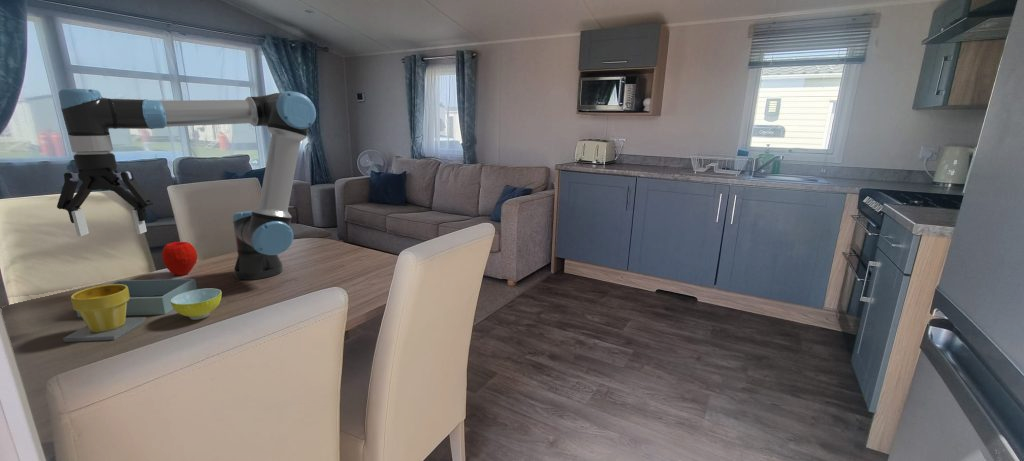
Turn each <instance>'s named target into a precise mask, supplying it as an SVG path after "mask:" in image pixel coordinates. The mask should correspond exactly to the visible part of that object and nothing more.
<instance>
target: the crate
mask: <svg viewBox="0 0 1024 461" xmlns="http://www.w3.org/2000/svg"><path fill="white" fill-rule="evenodd" d="M196 281H197V280H196V278H178V279H177V278H173V279H172V278H171V279H168V278H167V279H166V278H165V279H135V280H134V279H133V280H132V279H129V280H126V279H125V280H115V281H114V282H111V283H110V284H123V285H126V286H127V287H128V290H129V296H130V299H129V300H128V301H127V307H126V317H127V316H153V315H166V314H168V313H170V312H172V310H175V309H174V308H173V307H172V305H171V299H172V298H173V297H175V296H177V295H179V294H182V293H185V292H188V291H192V290H198V288H197V282H196ZM154 295H163V296H154ZM76 315H77V317H78V318H82V316H81V315H80V313H79V311H76Z"/></svg>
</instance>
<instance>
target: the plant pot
mask: <svg viewBox="0 0 1024 461" xmlns="http://www.w3.org/2000/svg"><path fill="white" fill-rule="evenodd" d="M130 298H131V296H129V290H128V287H127V286H126V285H123V284H111V283H110V284H104V285H103V284H102V285H97V286H92V287H88V288H84V289H82V290H79V291H76V292H74V293H73V294H71V296H70V302H71V305H72V308H73V310H74V311H76V312H77V311H79V313H80V315H81V316H82V317H81V318H82V319H83V321H84V323H85V325H86V326H88V328H89V330H90V331H91V332H105V331H109V330H113V329H116V328H118V327H121V326H122V325H124V324H125V320H126V318H127V316H126V307H127V301H128V300H129V299H130Z"/></svg>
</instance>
